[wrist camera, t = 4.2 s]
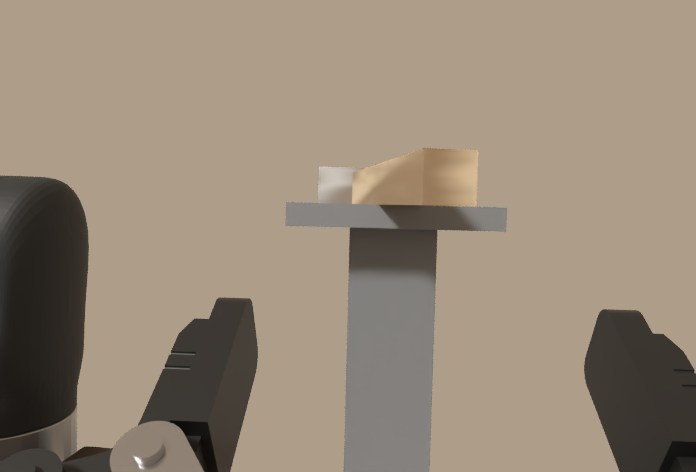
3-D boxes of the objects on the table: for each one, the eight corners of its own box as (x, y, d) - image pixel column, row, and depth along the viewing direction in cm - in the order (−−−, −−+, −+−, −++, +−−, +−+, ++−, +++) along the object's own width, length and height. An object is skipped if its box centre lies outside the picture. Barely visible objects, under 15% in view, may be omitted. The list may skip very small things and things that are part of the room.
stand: (276, 679, 39) (285, 202, 37) (300, 568, 51) (308, 203, 49) (487, 694, 38) (506, 207, 36) (461, 577, 50) (475, 207, 48)
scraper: (364, 203, 26) (366, 136, 26) (318, 203, 48) (318, 167, 48) (530, 207, 27) (533, 144, 27) (411, 205, 49) (412, 170, 49)
